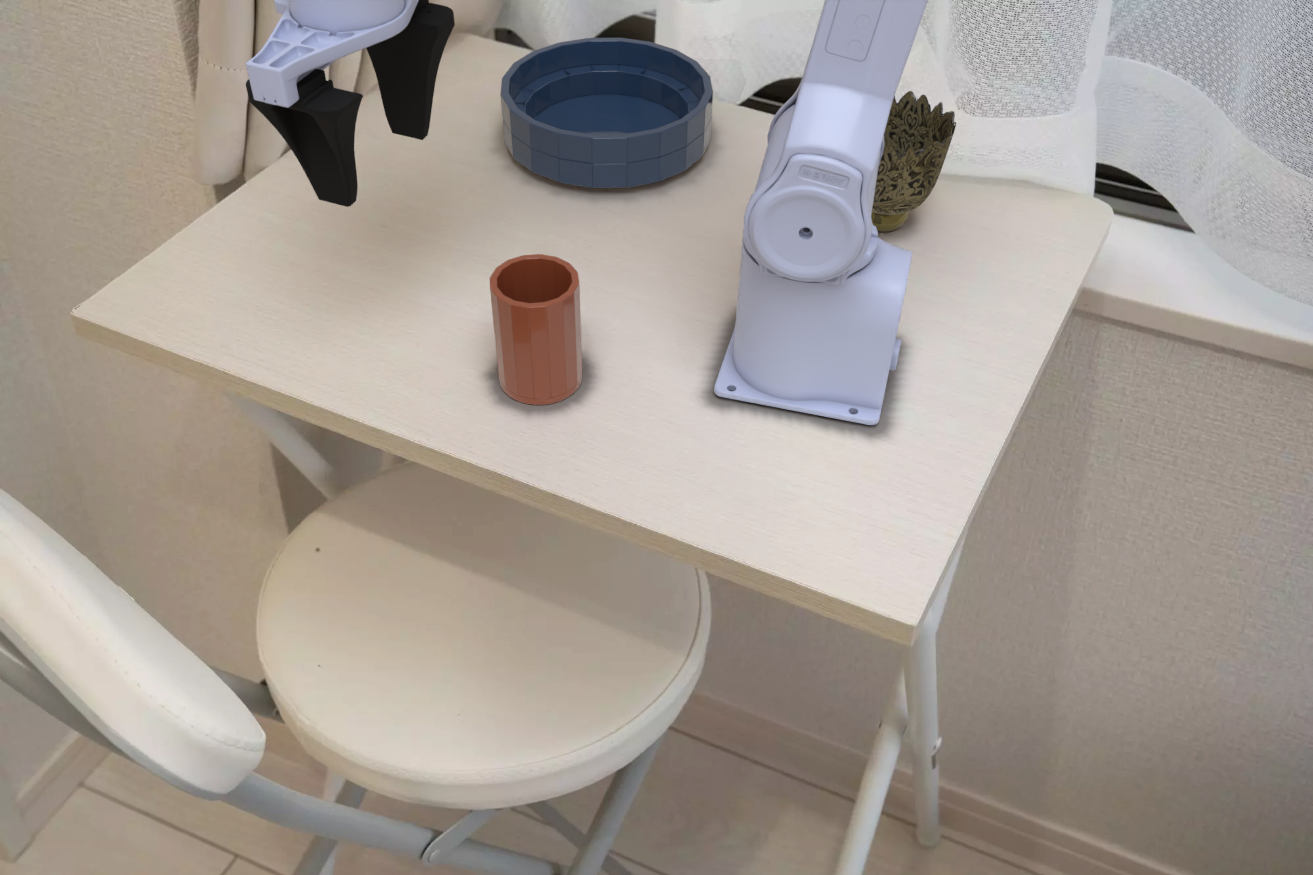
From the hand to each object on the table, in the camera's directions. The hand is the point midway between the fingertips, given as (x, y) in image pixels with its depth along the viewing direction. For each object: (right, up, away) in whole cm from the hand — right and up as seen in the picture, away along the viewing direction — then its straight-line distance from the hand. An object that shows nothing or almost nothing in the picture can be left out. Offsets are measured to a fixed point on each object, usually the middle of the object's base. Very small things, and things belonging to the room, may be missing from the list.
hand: (375, 165), depth 66 cm
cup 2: (+31, 0, +15) cm, 35 cm away
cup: (+9, -12, +2) cm, 15 cm away
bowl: (+12, +7, +22) cm, 26 cm away
